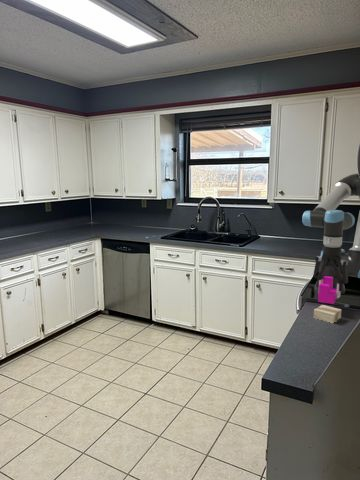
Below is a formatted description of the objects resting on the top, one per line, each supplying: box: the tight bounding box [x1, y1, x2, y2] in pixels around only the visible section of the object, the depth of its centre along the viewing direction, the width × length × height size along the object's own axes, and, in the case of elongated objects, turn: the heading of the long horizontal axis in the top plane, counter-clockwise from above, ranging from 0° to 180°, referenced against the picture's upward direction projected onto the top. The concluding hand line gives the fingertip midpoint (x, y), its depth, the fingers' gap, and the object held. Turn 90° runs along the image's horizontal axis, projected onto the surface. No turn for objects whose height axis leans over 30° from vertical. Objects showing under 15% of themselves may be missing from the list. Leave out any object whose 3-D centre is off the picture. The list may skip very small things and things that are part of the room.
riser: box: [313, 304, 342, 324], centre depth 144 cm, size 8×8×5 cm
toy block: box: [317, 276, 337, 305], centre depth 155 cm, size 15×6×8 cm, turn 150°
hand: (329, 295), depth 158 cm, fingers closed on toy block, 7 cm apart
